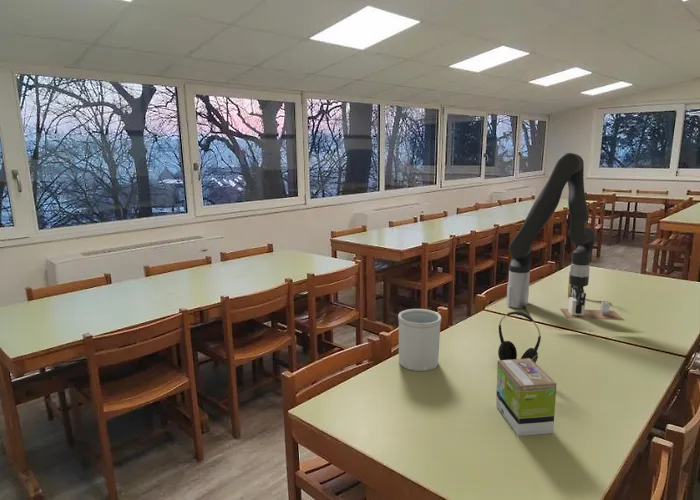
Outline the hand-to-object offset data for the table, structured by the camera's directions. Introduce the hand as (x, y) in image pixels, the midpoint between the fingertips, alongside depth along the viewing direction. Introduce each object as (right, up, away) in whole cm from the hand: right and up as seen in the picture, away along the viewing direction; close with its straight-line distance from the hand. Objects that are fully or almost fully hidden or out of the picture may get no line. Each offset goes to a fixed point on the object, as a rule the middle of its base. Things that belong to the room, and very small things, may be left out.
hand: (576, 310), depth 203 cm
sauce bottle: (+12, +3, +27) cm, 30 cm away
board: (+6, -3, 0) cm, 7 cm away
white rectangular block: (0, -1, 0) cm, 1 cm away
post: (+11, -1, -2) cm, 12 cm away
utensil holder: (-76, -13, -41) cm, 87 cm away
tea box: (-53, -20, -77) cm, 95 cm away
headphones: (-43, -13, -47) cm, 65 cm away
